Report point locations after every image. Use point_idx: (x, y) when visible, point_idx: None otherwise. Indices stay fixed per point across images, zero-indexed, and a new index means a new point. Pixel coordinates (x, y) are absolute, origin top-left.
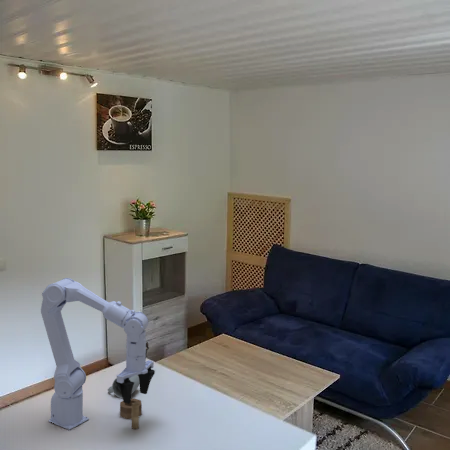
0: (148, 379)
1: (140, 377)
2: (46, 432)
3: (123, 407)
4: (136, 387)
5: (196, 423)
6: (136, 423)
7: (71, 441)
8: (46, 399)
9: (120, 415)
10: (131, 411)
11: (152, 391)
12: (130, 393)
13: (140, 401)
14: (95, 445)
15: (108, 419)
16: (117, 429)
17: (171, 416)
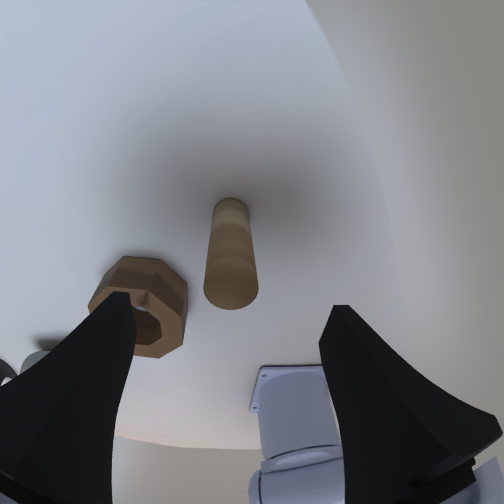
0: (62, 402)
1: (104, 448)
2: None
3: (182, 331)
4: (43, 356)
5: (64, 10)
6: (241, 212)
7: (387, 327)
8: (225, 443)
9: (186, 314)
10: (168, 292)
11: (9, 309)
12: (391, 364)
13: (94, 302)
14: (398, 264)
15: (227, 330)
16: (277, 267)
17: (59, 136)
